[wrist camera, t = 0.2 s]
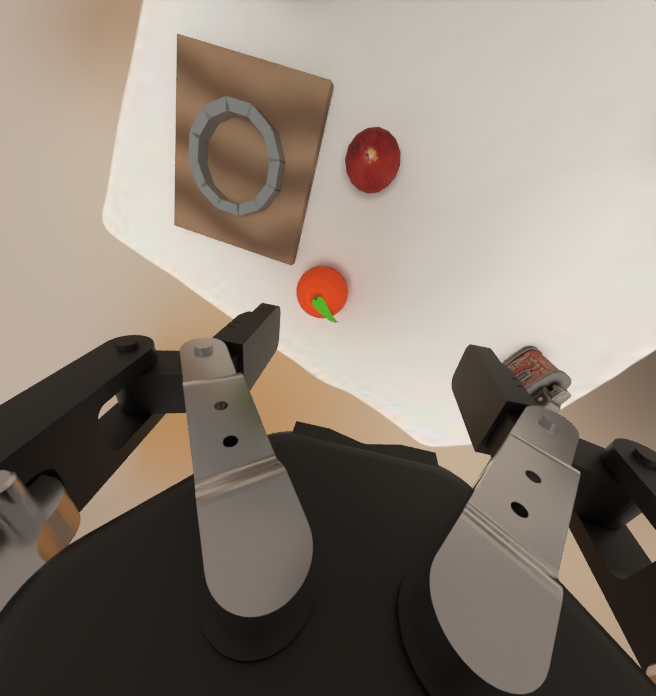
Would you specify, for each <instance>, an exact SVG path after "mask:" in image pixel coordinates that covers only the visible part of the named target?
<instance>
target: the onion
mask: <svg viewBox="0 0 656 696" xmlns="http://www.w3.org/2000/svg"><path fill="white" fill-rule="evenodd" d="M345 162H346V171H347V174H348V176H349V179H350V181H351V183H352V184H353V185H354V186H355V187H356V188H357V189H359V190H360V191H363V192H366V193H375V192H379V191H381V190H382V189H384V188H386V187H387V186H388V185H389V184H390V183H391V182H392V180H393V179H394V178H395V176H396V174H397V171H398V169H399V166H400V149H399V147H398V144H397V141H396V139H395V138H394V137H393V136H392V135H391V134H390V132H389V131H387V130H384V129H382V128H380V127H373V128H367V129H365V130H364V131H362V132H360V133H359V134H357V135H356V137H355V138H354V139H353V141H352V142H351V144H350V145H349V147H348V151H347V155H346V159H345Z"/></svg>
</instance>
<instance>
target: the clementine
mask: <svg viewBox="0 0 656 696" xmlns="http://www.w3.org/2000/svg"><path fill="white" fill-rule="evenodd" d="M297 298H298V302H299V304H300V306H301V307H302V309H303V310H304V311H305V312H306V313H308V314H309V315H311V316H314V317H317V318H327V319H328V320H330V321H332V322H335V323H336V322H338V321H336V320H335V318H334V317H333V315H335V314H336V313H338V312H339V311H340V310H341V309H342V308H343V306H344V305H345V302H346V299H347V285H346V282H345V280H344V278H343V277H342V276H341V274H340V273H339V272H337V271H336V270H334V269H332V268H330V267H325V266H319V267H314V268H311V269H310V270H308V271H306V272H305V273H304V274H303V275H302V277H301V279H300V280H299V282H298V285H297Z"/></svg>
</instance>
